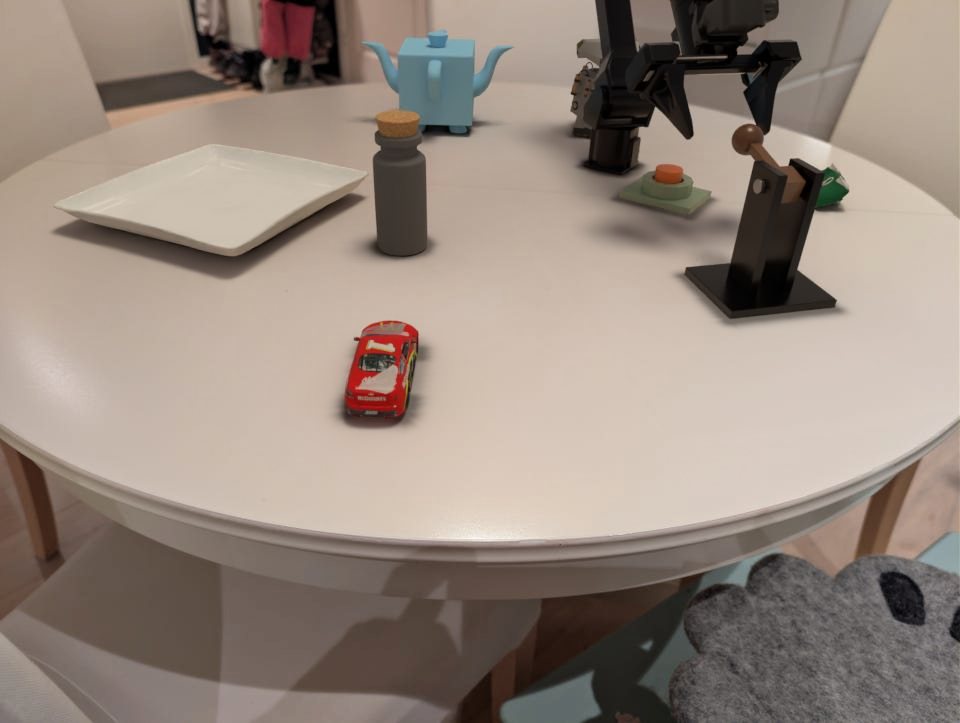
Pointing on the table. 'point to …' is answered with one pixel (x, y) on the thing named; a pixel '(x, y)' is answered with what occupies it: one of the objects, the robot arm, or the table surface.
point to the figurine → (586, 82)
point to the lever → (766, 158)
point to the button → (668, 174)
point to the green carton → (832, 187)
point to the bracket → (768, 250)
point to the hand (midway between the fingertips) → (728, 135)
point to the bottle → (400, 184)
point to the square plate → (215, 197)
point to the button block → (666, 194)
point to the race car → (382, 370)
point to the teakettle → (438, 78)
